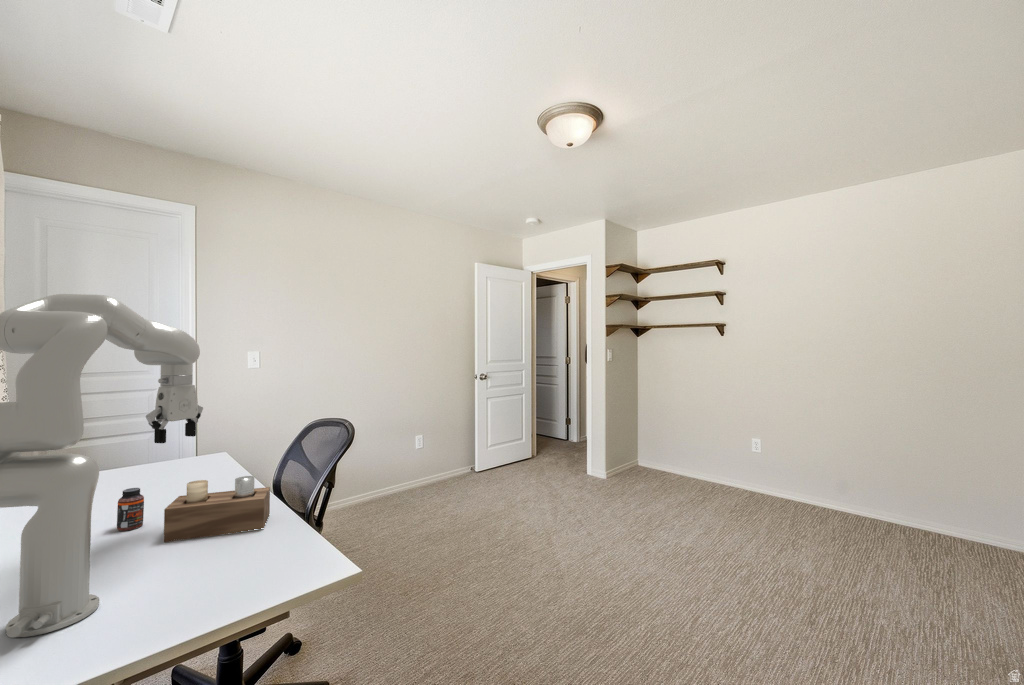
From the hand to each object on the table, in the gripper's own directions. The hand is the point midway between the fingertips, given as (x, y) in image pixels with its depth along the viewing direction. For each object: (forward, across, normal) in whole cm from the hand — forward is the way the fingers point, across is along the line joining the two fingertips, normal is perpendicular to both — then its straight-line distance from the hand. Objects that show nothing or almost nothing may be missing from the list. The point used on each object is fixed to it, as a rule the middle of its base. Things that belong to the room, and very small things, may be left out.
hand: (175, 439), depth 128 cm
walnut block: (+26, +3, -12) cm, 29 cm away
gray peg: (+21, +7, -17) cm, 28 cm away
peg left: (+21, 0, -7) cm, 23 cm away
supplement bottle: (+27, -1, +14) cm, 30 cm away
